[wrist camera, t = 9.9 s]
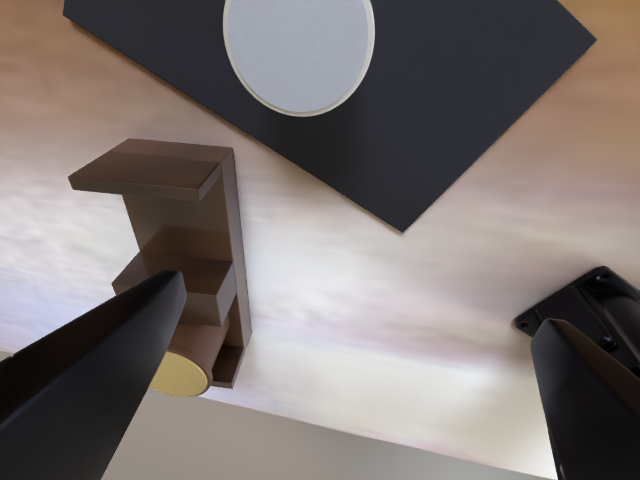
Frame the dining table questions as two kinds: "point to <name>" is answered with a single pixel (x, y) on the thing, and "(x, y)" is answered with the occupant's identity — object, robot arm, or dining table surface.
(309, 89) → the coffee pod
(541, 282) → the dining table surface
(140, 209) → the pod rack
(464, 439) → the dining table surface
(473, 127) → the mat
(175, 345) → the cylinder
